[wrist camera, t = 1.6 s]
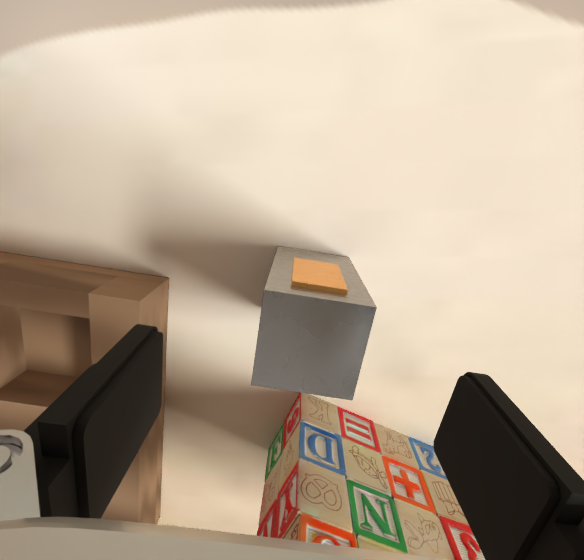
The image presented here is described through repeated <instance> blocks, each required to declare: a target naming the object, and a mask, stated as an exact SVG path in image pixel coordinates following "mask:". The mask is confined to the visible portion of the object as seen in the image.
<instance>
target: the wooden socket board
mask: <svg viewBox="0 0 584 560" xmlns="http://www.w3.org/2000/svg"><path fill="white" fill-rule="evenodd" d="M168 288H169V278H165V277H159V276H153V275H146V274H140V273H133V272H127V271H120V270H114V269H108V268H101V267H95V266H88V265H82V264H76V263H69V262H63V261H56V260H50V259H44V258H37V257H31V256H24V255H18V254H12V253H5V252H0V430H9V429H14V430H19V431H24V430H25V429H26V428H27V427H28V426H29V425H30V424H31V423H32V422H33V421H34V420H35V419H36V418H37V417H38V416H39V415H40V414H42V413H43V412H44V411H45V410H46V409H47V408H48V407H49V406H50V405H51V404H52V403H53V402H54V401H55V400H56V399H57V398H58V397H59V396H60V395H61V394H62V393H63V392H64V391H65V390H66V389H67V388H68V387H69V386H70V385H71V384H72V383H73V382H74V381H75V380H76V379H78V378H79V377H80V376H81V375H82V374H83V373H84V372H85V371H86V370H87V369H88V368H89V367H90V366H91V365H93V364H95V363H97V362H98V361H99V360H100V359H101V358H102V357H103V356H104V355H105V354H106V353H107V352H108V351H109V350H110V349H111V348H112V347H113V346H114V345H115V344H116V343H117V342H118V341H119V340H121V339H122V338H123V337H124V336H125V335H126V334H127V333H128V332H129V331H130V330H131V329H132V328H133V327H134V326H135V325H136V324H142V325H149V326H156V327H157V329H158V332H162V333H163V371H162V405H161V409H160V412H159V415H158V417H157V419H156V420H155V422H154V424H153V426H152V427H151V429H150V431H149V433H148V435H147V436H146V438H145V440H144V442H143V444H142V445H141V447H140V449H139V451H138V453H137V454H136V456H135V458H134V460H133V462H132V463H131V465H130V467H129V469H128V471H127V472H126V474H125V476H124V478H123V480H122V481H121V483H120V485H119V487H118V489H117V490H116V492H115V494H114V496H113V498H112V499H111V501H110V503H109V505H108V506H107V508H106V510H105V512H104V514H103V515H102V517H101V519H108V520H118V521H128V522H138V523H148V524H157V522H158V520H159V518H160V504H161V477H162V450H163V423H164V396H165V369H166V342H167V315H168Z"/></svg>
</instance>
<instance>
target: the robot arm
mask: <svg viewBox="0 0 584 560" xmlns="http://www.w3.org/2000/svg"><path fill="white" fill-rule="evenodd" d="M162 371H163V333H162V332H158V329H157V327H156V326H149V325H142V324H136V325H135V326H134V327H133V328H132V329H131V330H130V331H129V332H128V333H127V334H126V335H125V336H124V337H123V338H122V339H121V340H119V341H118V342H117V343H116V344H115V345H114V346H113V347H112V348H111V349H110V350H109V351H108V352H107V353H106V354H105V355H104V356H103V357H102V358H101V359H100V360H99V361H98V362H97V363H95V364H93V365H91V366H90V367H89V368H88V369H87V370H86V371H85V372H84V373H83V374H82V375H81V376H80V377H79V378H78V379H76V380H75V381H74V382H73V383H72V384H71V385H70V386H69V387H68V388H67V389H66V390H65V391H64V392H63V393H62V394H61V395H60V396H59V397H58V398H57V399H56V400H55V401H54V402H53V403H52V404H51V405H50V406H49V407H48V408H47V409H46V410H45V411H44V412H43V413H42V414H40V415H39V416H38V417H37V418H36V419H35V420H34V421H33V422H32V423H31V424H30V425H29V426H28V427H27V428H26V429H25V430H24V431H19V430H14V429H9V430H0V560H447V559H440V558H432V557H424V556H416V555H409V554H401V553H393V552H385V551H377V550H369V549H361V548H353V547H345V546H337V545H328V544H320V543H312V542H304V541H296V540H288V539H280V538H271V537H263V536H254V535H246V534H237V533H229V532H220V531H212V530H203V529H195V528H186V527H178V526H169V525H159V524H148V523H138V522H128V521H118V520H108V519H101V517H102V515H103V514H104V512H105V510H106V508H107V506H108V505H109V503H110V501H111V499H112V498H113V496H114V494H115V492H116V490H117V489H118V487H119V485H120V483H121V481H122V480H123V478H124V476H125V474H126V472H127V471H128V469H129V467H130V465H131V463H132V462H133V460H134V458H135V456H136V454H137V453H138V451H139V449H140V447H141V445H142V444H143V442H144V440H145V438H146V436H147V435H148V433H149V431H150V429H151V427H152V426H153V424H154V422H155V420H156V419H157V417H158V415H159V412H160V409H161V405H162ZM434 452H435V454H436V456H437V458H438V461H439V463H440V465H441V467H442V469H443V471H444V473H445V475H446V478H447V480H448V482H449V484H450V486H451V488H452V490H453V492H454V494H455V497H456V499H457V501H458V503H459V505H460V507H461V509H462V511H463V513H464V516H465V518H466V520H467V522H468V524H469V526H470V528H471V530H472V532H473V535H474V537H475V539H476V541H477V543H478V545H479V547H480V549H481V551H482V554H483V556H484V558H485V560H584V480H583V479H582V478H581V477H580V476H579V475H578V474H577V473H576V472H575V470H574V469H573V468H572V467H571V466H570V465H569V464H568V463H567V462H566V460H565V459H564V458H563V457H562V456H561V455H560V454H559V453H558V452H557V450H556V449H555V448H554V447H553V446H552V445H551V444H550V443H549V442H548V441H547V439H546V438H545V437H544V436H543V435H542V434H541V433H540V432H539V431H538V429H537V428H536V427H535V426H534V425H533V424H532V423H531V422H530V421H529V419H528V418H527V417H526V416H525V415H524V414H523V413H522V412H521V411H520V409H519V408H518V407H517V406H516V405H515V404H514V403H513V402H512V401H511V399H510V398H509V397H508V396H507V395H506V394H505V393H504V392H503V391H502V390H501V388H500V387H499V386H498V385H497V384H496V383H495V382H494V381H493V380H492V378H491V377H490V376H488V375H485V374H479V373H472V372H467V373H466V374H464V376H460V377H459V379H458V381H457V383H456V386H455V389H454V391H453V394H452V396H451V399H450V401H449V404H448V406H447V409H446V411H445V414H444V417H443V419H442V422H441V424H440V427H439V429H438V432H437V434H436V437H435V439H434Z"/></svg>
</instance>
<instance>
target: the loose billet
mask: <svg viewBox="0 0 584 560" xmlns="http://www.w3.org/2000/svg"><path fill="white" fill-rule="evenodd" d="M375 311H376V305H375V304H374V302H373V300H372V298H371V296H370V295H369V293H368V291H367V289H366V287H365V286H364V284H363V282H362V280H361V278H360V277H359V275H358V273H357V271H356V269H355V267H354V266H353V264H352V262H351V260H350V258H349V257H345V256H338V255H332V254H326V253H319V252H313V251H307V250H301V249H294V248H288V247H282V246H278V248H277V251H276V254H275V257H274V261H273V264H272V267H271V270H270V273H269V276H268V279H267V282H266V286H265V289H264V295H263V302H262V309H261V317H260V324H259V331H258V338H257V346H256V353H255V360H254V368H253V375H252V382H251V385H254V386H260V387H267V388H274V389H280V390H287V391H294V392H300V393H307V394H314V395H320V396H327V397H334V398H340V399H347V400H353V396H354V392H355V388H356V384H357V380H358V377H359V373H360V369H361V365H362V361H363V357H364V354H365V350H366V346H367V342H368V338H369V334H370V330H371V327H372V323H373V319H374V315H375Z"/></svg>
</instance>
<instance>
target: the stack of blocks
mask: <svg viewBox="0 0 584 560" xmlns="http://www.w3.org/2000/svg"><path fill="white" fill-rule="evenodd" d="M257 536H263V537H271V538H280V539H288V540H296V541H304V542H312V543H320V544H328V545H337V546H345V547H353V548H361V549H369V550H377V551H385V552H393V553H401V554H409V555H416V556H424V557H432V558H440V559H447V560H485V558H484V556H483V554H482V551H481V549H480V547H479V545H478V543H477V541H476V539H475V537H474V535H473V532H472V530H471V528H470V526H469V524H468V522H467V520H466V518H465V516H464V513H463V511H462V509H461V507H460V505H459V503H458V501H457V499H456V497H455V494H454V492H453V490H452V488H451V486H450V484H449V482H448V480H447V478H446V475H445V473H444V471H443V469H442V467H441V465H440V463H439V461H438V458H437V456H436V454H435V452H434V447H432V446H430V445H427V444H425V443H422V442H420V441H418V440H415V439H413V438H411V437H406V436H405V435H403V434H400V433H398V432H395V431H393V430H391V429H388V428H385V427H383V426H381V425H378V424H376V423H373V422H372V421H371V420H368V419H366V418H364V417H361V416H359V415H356V414H354V413H352V412H349V411H347V410H344V409H342V408H340V407H337V406H335V405H333V404H331V403H328V402H326V401H324V400H321V399H319V398H316V397H314V396H312V395H309V394H307V393H300V394H299V396H298V398H297V400H296V401H295V403H294V405H293V407H292V408H291V410H290V412H289V414H288V415H287V417H286V419H285V422H284V424H283V426H282V427H281V429H280V431H279V433H278V434H277V436H276V438H275V439H274V441H273V443H272V445H271V446H270V448H269V451H268V458H267V466H266V474H265V485H264V491H263V498H262V505H261V512H260V519H259V528H258V531H257Z"/></svg>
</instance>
